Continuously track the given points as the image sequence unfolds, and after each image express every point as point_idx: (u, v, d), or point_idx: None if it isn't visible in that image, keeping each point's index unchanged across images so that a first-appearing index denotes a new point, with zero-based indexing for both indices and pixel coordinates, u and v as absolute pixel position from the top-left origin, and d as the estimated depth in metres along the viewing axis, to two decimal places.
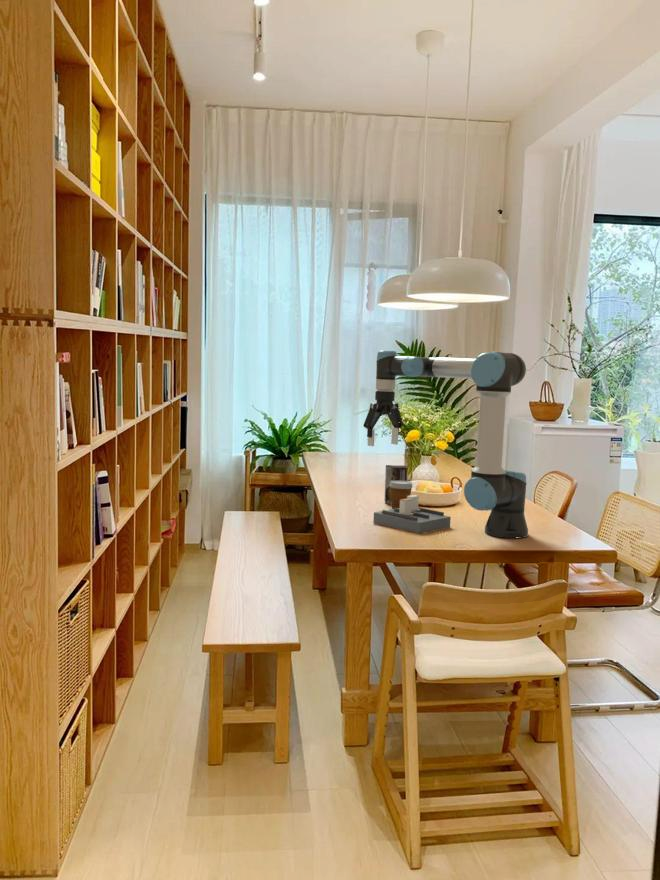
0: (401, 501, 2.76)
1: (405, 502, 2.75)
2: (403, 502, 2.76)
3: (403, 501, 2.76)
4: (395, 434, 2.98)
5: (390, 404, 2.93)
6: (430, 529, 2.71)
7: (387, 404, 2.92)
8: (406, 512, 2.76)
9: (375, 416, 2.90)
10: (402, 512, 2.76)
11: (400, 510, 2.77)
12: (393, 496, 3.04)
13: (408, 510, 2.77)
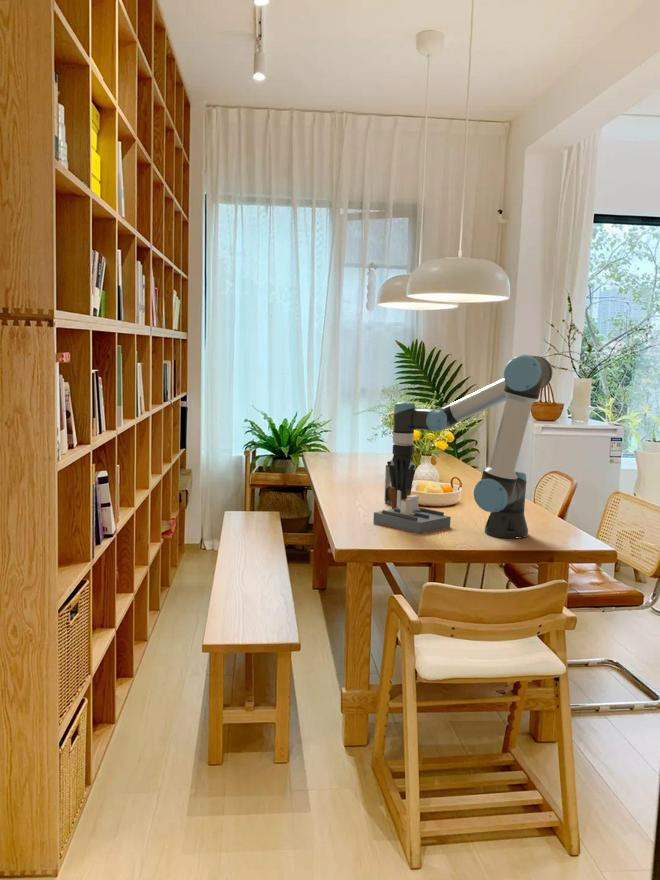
0: (402, 501, 2.76)
1: (406, 502, 2.75)
2: (404, 502, 2.75)
3: (404, 501, 2.75)
4: None
5: (406, 458, 2.75)
6: (430, 529, 2.71)
7: None
8: (407, 512, 2.76)
9: None
10: (403, 512, 2.76)
11: (401, 510, 2.77)
12: (393, 496, 3.04)
13: (409, 510, 2.77)
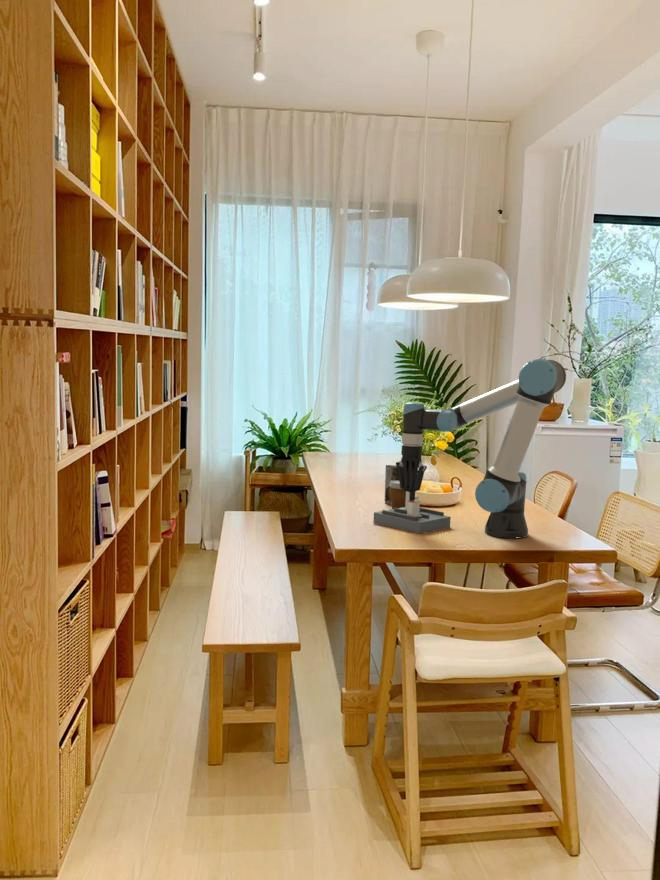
0: (409, 503, 2.74)
1: (413, 503, 2.73)
2: (411, 504, 2.73)
3: (411, 503, 2.73)
4: None
5: (415, 459, 2.72)
6: (430, 529, 2.71)
7: None
8: (414, 514, 2.74)
9: None
10: (410, 514, 2.74)
11: (408, 512, 2.74)
12: (393, 496, 3.04)
13: (416, 512, 2.75)
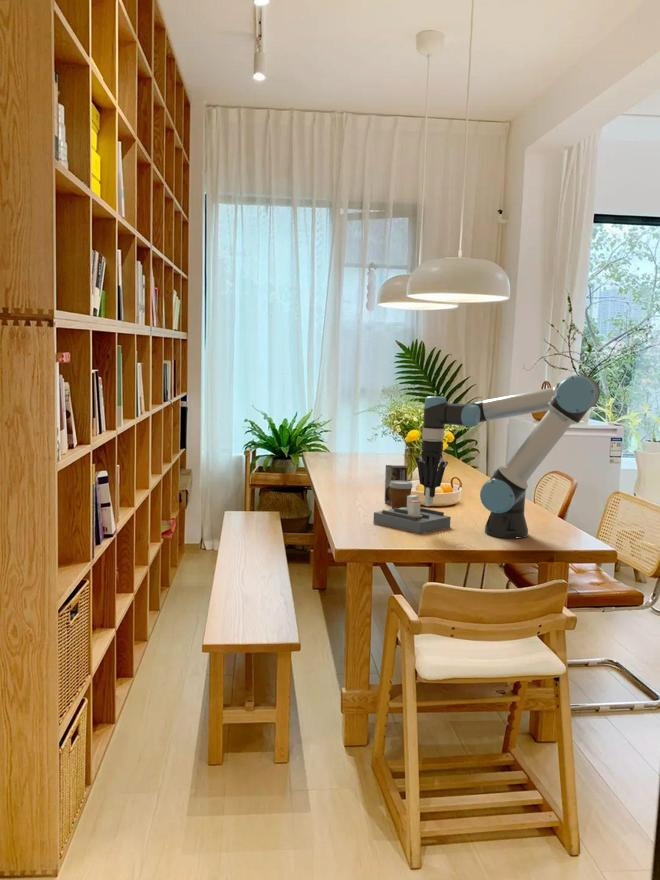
0: (410, 503, 2.73)
1: (414, 504, 2.73)
2: (412, 504, 2.73)
3: (412, 503, 2.73)
4: None
5: (436, 454, 2.65)
6: (430, 529, 2.71)
7: None
8: (415, 514, 2.74)
9: None
10: (411, 514, 2.73)
11: (409, 512, 2.74)
12: (393, 496, 3.04)
13: (417, 512, 2.74)
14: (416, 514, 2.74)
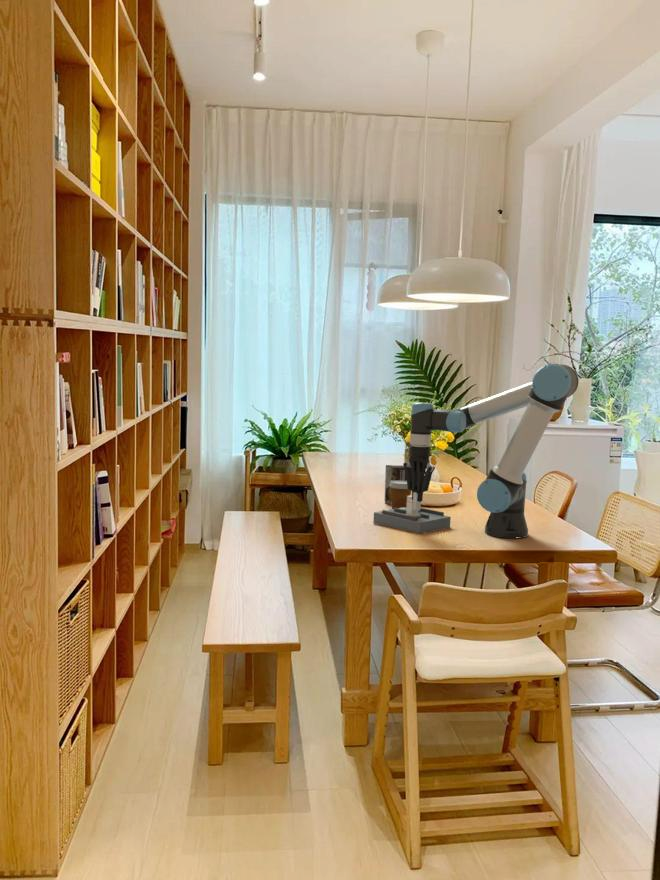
0: (408, 502, 2.74)
1: (412, 503, 2.73)
2: (410, 503, 2.73)
3: (410, 502, 2.73)
4: None
5: (423, 460, 2.69)
6: (430, 529, 2.71)
7: None
8: (413, 514, 2.74)
9: None
10: (409, 514, 2.74)
11: (407, 511, 2.75)
12: (393, 496, 3.04)
13: (415, 512, 2.75)
14: (414, 514, 2.75)
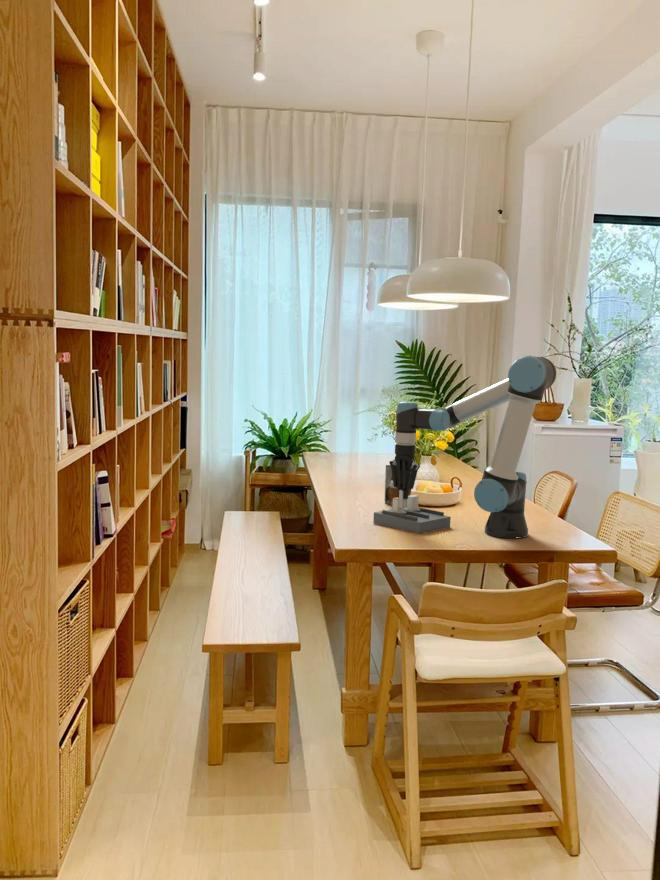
0: (394, 500, 2.79)
1: (398, 500, 2.78)
2: (396, 501, 2.78)
3: (396, 500, 2.78)
4: None
5: (408, 458, 2.74)
6: (430, 529, 2.71)
7: None
8: (399, 510, 2.79)
9: None
10: (395, 510, 2.79)
11: (393, 508, 2.79)
12: (393, 496, 3.04)
13: (401, 508, 2.80)
14: (400, 511, 2.79)
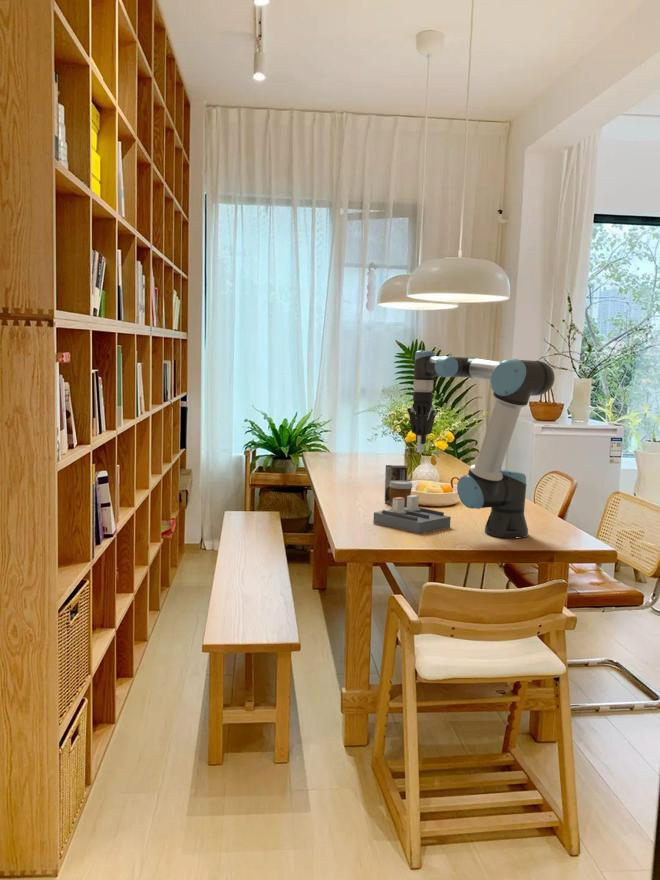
0: (394, 500, 2.79)
1: (398, 500, 2.78)
2: (396, 501, 2.78)
3: (396, 500, 2.78)
4: None
5: (426, 404, 2.87)
6: (430, 529, 2.71)
7: None
8: (399, 510, 2.79)
9: None
10: (395, 510, 2.79)
11: (393, 508, 2.79)
12: (393, 496, 3.04)
13: (401, 508, 2.80)
14: (400, 511, 2.79)
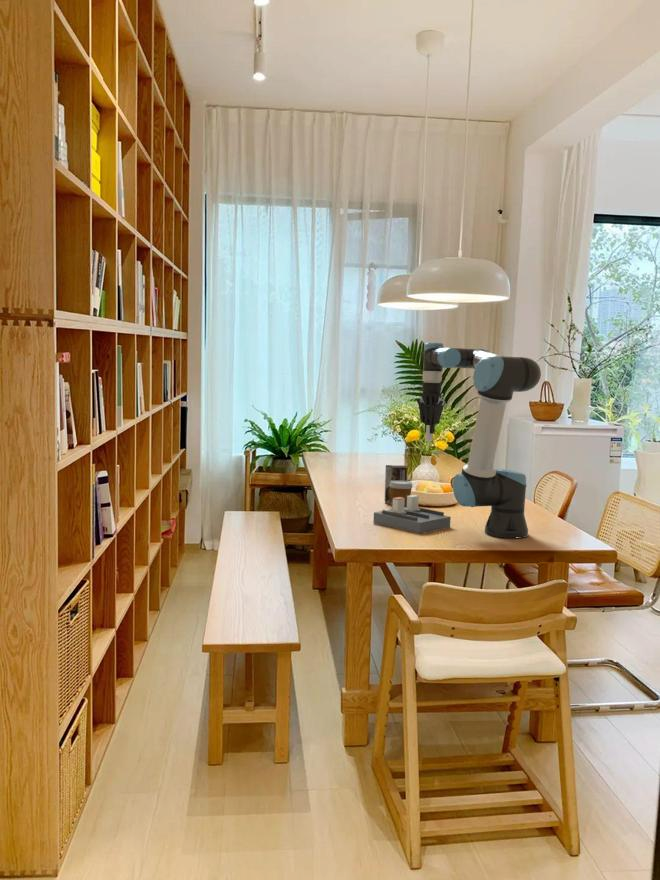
0: (394, 500, 2.79)
1: (398, 500, 2.78)
2: (396, 501, 2.78)
3: (396, 500, 2.78)
4: None
5: (435, 394, 2.95)
6: (430, 529, 2.71)
7: None
8: (399, 510, 2.79)
9: None
10: (395, 510, 2.79)
11: (393, 508, 2.79)
12: (393, 496, 3.04)
13: (401, 508, 2.80)
14: (400, 511, 2.79)
